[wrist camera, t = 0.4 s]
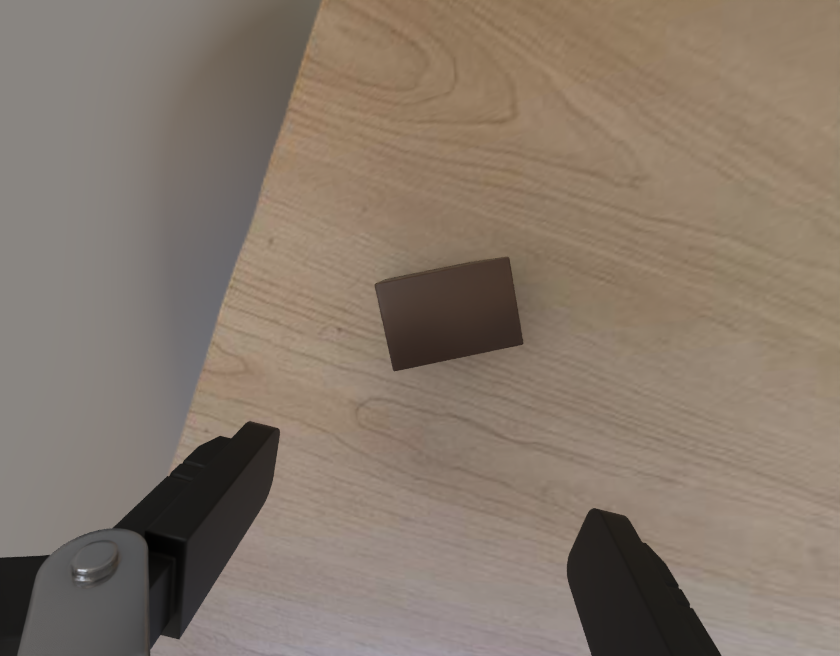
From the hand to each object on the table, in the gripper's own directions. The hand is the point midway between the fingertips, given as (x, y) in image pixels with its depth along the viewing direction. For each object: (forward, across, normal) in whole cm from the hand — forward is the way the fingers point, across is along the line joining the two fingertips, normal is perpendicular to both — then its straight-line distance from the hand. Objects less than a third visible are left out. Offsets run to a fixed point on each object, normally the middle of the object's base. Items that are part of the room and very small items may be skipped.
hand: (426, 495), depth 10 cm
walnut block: (+18, +1, -1) cm, 19 cm away
